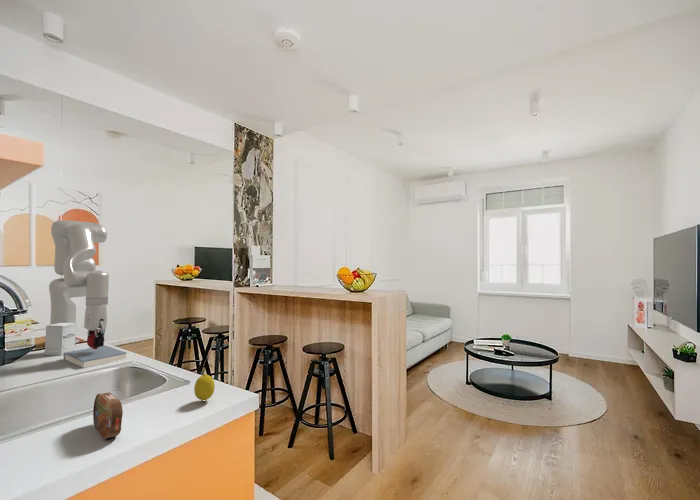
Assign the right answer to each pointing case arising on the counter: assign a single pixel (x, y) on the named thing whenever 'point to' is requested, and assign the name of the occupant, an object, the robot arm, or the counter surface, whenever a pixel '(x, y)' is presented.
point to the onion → (91, 340)
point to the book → (94, 356)
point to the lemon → (204, 387)
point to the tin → (107, 415)
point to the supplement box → (60, 338)
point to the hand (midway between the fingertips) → (95, 344)
